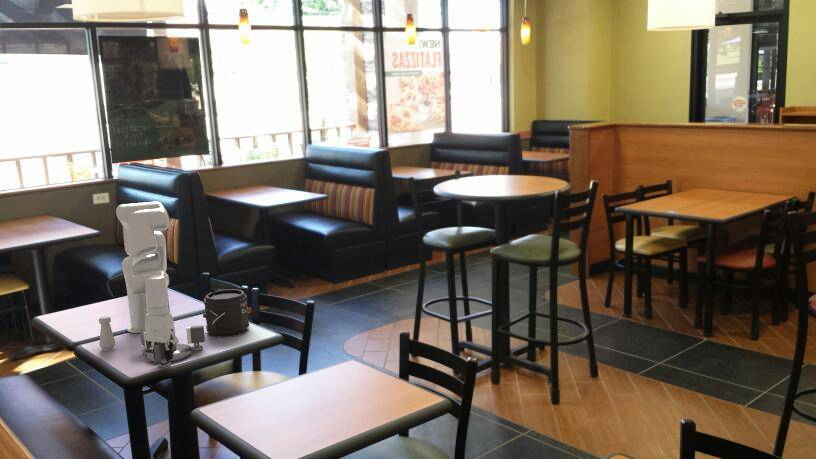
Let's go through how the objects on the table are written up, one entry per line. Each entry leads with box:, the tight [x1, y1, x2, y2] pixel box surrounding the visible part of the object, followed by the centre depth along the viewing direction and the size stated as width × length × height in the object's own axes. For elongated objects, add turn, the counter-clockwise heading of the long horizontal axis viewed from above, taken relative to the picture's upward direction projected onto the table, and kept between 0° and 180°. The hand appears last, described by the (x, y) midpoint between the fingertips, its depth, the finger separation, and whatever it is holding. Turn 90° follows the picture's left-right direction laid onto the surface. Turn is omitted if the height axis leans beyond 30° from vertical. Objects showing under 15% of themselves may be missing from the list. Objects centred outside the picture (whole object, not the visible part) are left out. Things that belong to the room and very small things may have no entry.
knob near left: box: [185, 324, 206, 347], centre depth 281 cm, size 2×6×8 cm, turn 97°
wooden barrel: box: [202, 288, 251, 338], centre depth 301 cm, size 18×18×16 cm
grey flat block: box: [139, 328, 152, 351], centre depth 278 cm, size 2×6×8 cm, turn 37°
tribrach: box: [141, 340, 204, 369], centre depth 272 cm, size 21×23×7 cm
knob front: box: [153, 342, 169, 364], centre depth 264 cm, size 2×6×8 cm, turn 157°
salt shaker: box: [98, 315, 116, 352], centre depth 285 cm, size 6×6×13 cm
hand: (163, 358), depth 264 cm, fingers open, 4 cm apart
